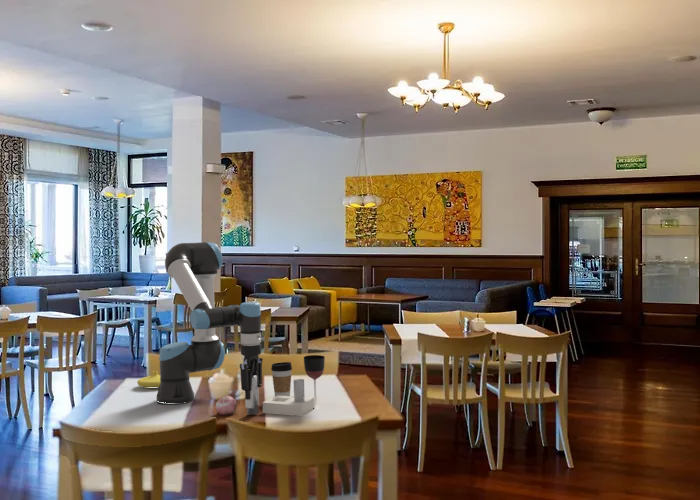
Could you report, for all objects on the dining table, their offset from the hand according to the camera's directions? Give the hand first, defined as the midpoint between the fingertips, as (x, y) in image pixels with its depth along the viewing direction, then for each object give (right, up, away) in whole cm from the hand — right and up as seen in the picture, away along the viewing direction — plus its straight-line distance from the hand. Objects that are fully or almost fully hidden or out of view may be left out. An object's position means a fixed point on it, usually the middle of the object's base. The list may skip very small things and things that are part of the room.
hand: (252, 405), depth 263 cm
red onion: (-10, -4, +3) cm, 11 cm away
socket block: (+13, -3, +5) cm, 15 cm away
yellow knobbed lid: (-51, -4, +54) cm, 74 cm away
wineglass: (+23, -3, +10) cm, 25 cm away
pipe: (0, -3, 0) cm, 3 cm away
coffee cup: (+9, -3, +23) cm, 25 cm away
